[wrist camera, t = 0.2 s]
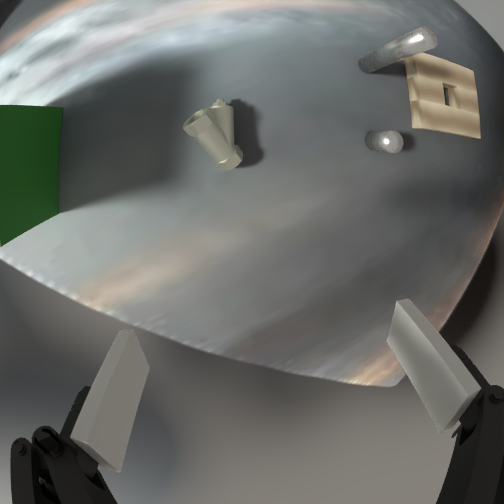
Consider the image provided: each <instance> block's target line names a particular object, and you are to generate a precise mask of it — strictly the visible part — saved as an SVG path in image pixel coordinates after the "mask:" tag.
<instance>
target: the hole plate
mask: <svg viewBox="0 0 504 504" xmlns="http://www.w3.org/2000/svg"><path fill="white" fill-rule="evenodd" d="M404 62H405V68H406V74H407V81H408V88H409V97H410V106H411V117H412V128H416V129H424V130H431V131H438V132H444V133H450V134H455V135H460V136H465V137H470V138H478V139H481V136H480V119H479V108H478V99H477V91H476V84H475V78H474V73H473V71H472V70H469V69H467V68H464V67H462V66H460V65H457V64H454V63H452V62H449V61H446V60H444V59H441V58H438V57H435V56H432V55H429V54H425V53H422V52H421V53H419V54H416V55H413V56H410V57H408V58H405V59H404ZM443 87H445V88H448V96H449V105H450V106H447V105H445V98H444V90H443Z"/></svg>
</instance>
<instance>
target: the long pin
mask: <svg viewBox="0 0 504 504" xmlns="http://www.w3.org/2000/svg"><path fill="white" fill-rule="evenodd" d="M437 46H438V40H437V37H436V35H435V34H434V32H433V31H432V30H431V29H429V28H428V27H425V26H421V27H419V28H417V29H415V30H413V31H411V32H409V33H407V34H405V35H403V36H401V37H399V38H397V39H395V40H393V41H392V42H390V43H388V44H386V45H384V46H382V47H381V48H379V49H377V50H375V51H373V52H372V53H370V54H368V55H367V56H365V57H363V58H361V59H360V60H359V62H358V65H359V68H360V69H361V70H362V71H363V72H365V73H371V72H374V71H376V70H378V69H381V68H383V67H385V66H388V65H390V64H393V63H395V62H398V61H400V60H403V59H405V58H408V57H410V56H413V55H416V54H419V53H421V52H424V51H427V50H430V49H433V48H436V47H437Z"/></svg>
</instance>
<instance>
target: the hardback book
mask: <svg viewBox="0 0 504 504" xmlns="http://www.w3.org/2000/svg"><path fill="white" fill-rule="evenodd" d="M62 114H63V108H57V107H44V106H26V105H0V247H1V246H3V245H5V244H6V243H8V242H9V241H11V240H13V239H14V238H16V237H18V236H19V235H21V234H23V233H24V232H26V231H28V230H30V229H31V228H33V227H35V226H37V225H38V224H40V223H42V222H44V221H46V220H48V219H50V218H51V217H53V216H55V215H57V214H59V205H58V161H59V143H60V132H61V122H62Z"/></svg>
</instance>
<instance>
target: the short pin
mask: <svg viewBox="0 0 504 504" xmlns="http://www.w3.org/2000/svg"><path fill="white" fill-rule="evenodd" d="M365 143H366V145H367V147H368V148H369V149H371V150H375V151H383V152H390V153H398V152H400V151H401V149H402V147H403V138H402V136H401V135H400V133H398V132H397V131H370V132H368V133H367V135H366V137H365Z"/></svg>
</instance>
